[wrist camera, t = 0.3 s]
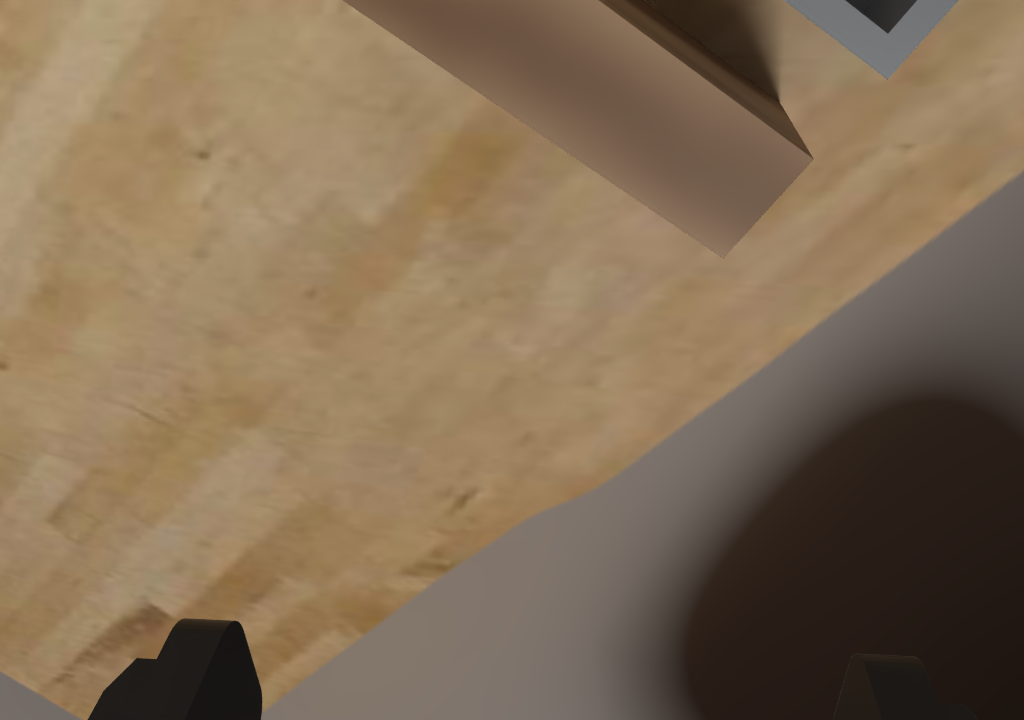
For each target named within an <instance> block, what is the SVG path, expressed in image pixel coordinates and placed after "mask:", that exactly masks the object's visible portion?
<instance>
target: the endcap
mask: <svg viewBox="0 0 1024 720" xmlns="http://www.w3.org/2000/svg"><path fill="white" fill-rule="evenodd" d="M785 1H786V2H787V3H788V4H790V5H791V6H792V7H794V8H795V9H796V10H798V11H799V12H800V13H801V14H803V15H804V16H805V17H807V18H808V19H809V20H811V21H812V22H813V23H814V24H816V25H817V26H818V27H820V28H821V29H822V30H824V31H825V32H826V33H828V34H829V35H830V36H831V37H833V38H834V39H835V40H837V41H838V42H839V43H841V44H842V45H843V46H844V47H846V48H847V49H848V50H850V51H851V52H852V53H854V54H855V55H856V56H857V57H859V58H860V59H861V60H863V61H864V62H865V63H867V64H868V65H869V66H871V67H872V68H873V69H874V70H876V71H877V72H878V73H880V74H881V75H882V76H884V77H885V78H886V79H887V80H888V78H889V77H890V76H891V75H892V74H893V73H894V72H895V71H896V69H897V68H898V67H899V66H900V65H901V64H902V63H903V62H904V61H905V59H906V58H907V57H908V56H909V55H910V54H911V53H912V52H913V50H914V49H915V48H916V47H917V46H918V45H919V44H920V43H921V42H922V40H923V39H924V38H925V37H926V36H927V35H928V34H929V33H930V31H931V30H932V29H933V28H934V27H935V26H936V25H937V24H938V23H939V21H940V20H941V19H942V18H943V17H944V16H945V15H946V14H947V12H948V11H949V10H950V9H951V8H952V7H953V6H954V5H955V4H956V2H957V1H958V0H785Z"/></svg>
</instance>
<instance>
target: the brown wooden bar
mask: <svg viewBox="0 0 1024 720" xmlns="http://www.w3.org/2000/svg"><path fill="white" fill-rule="evenodd" d="M343 1H345V2H346V3H348V4H349V5H350V6H352V7H353V8H355V9H356V10H358V11H359V12H361V13H362V14H364V15H365V16H367V17H368V18H370V19H371V20H373V21H374V22H376V23H377V24H378V25H380V26H381V27H383V28H384V29H386V30H387V31H389V32H390V33H392V34H393V35H395V36H396V37H398V38H399V39H401V40H402V41H404V42H405V43H406V44H408V45H409V46H411V47H412V48H414V49H415V50H417V51H418V52H420V53H421V54H423V55H424V56H426V57H427V58H429V59H430V60H432V61H433V62H434V63H436V64H437V65H439V66H440V67H442V68H443V69H445V70H446V71H448V72H449V73H451V74H452V75H454V76H455V77H457V78H458V79H460V80H461V81H462V82H464V83H465V84H467V85H468V86H470V87H471V88H473V89H474V90H476V91H477V92H479V93H480V94H482V95H483V96H485V97H486V98H488V99H489V100H490V101H492V102H493V103H495V104H496V105H498V106H499V107H501V108H502V109H504V110H505V111H507V112H508V113H510V114H511V115H513V116H514V117H515V118H517V119H518V120H520V121H521V122H523V123H524V124H526V125H527V126H529V127H530V128H532V129H533V130H535V131H536V132H538V133H539V134H541V135H542V136H543V137H545V138H546V139H548V140H549V141H551V142H552V143H554V144H555V145H557V146H558V147H560V148H561V149H563V150H564V151H566V152H567V153H569V154H570V155H571V156H573V157H574V158H576V159H577V160H579V161H580V162H582V163H583V164H585V165H586V166H588V167H589V168H591V169H592V170H594V171H595V172H597V173H598V174H599V175H601V176H602V177H604V178H605V179H607V180H608V181H610V182H611V183H613V184H614V185H616V186H617V187H619V188H620V189H622V190H623V191H625V192H626V193H627V194H629V195H630V196H632V197H633V198H635V199H636V200H638V201H639V202H641V203H642V204H644V205H645V206H647V207H648V208H650V209H651V210H653V211H654V212H655V213H657V214H658V215H660V216H661V217H663V218H664V219H666V220H667V221H669V222H670V223H672V224H673V225H675V226H676V227H678V228H679V229H680V230H682V231H683V232H685V233H686V234H688V235H689V236H691V237H692V238H694V239H695V240H697V241H698V242H700V243H701V244H703V245H704V246H706V247H707V248H708V249H710V250H711V251H713V252H714V253H716V254H717V255H719V256H720V257H722V258H724V257H725V256H726V255H727V254H728V253H729V252H730V251H731V249H732V248H733V247H734V246H735V245H736V244H737V243H738V242H739V241H740V240H741V239H742V237H743V236H744V235H745V234H746V233H747V232H748V231H749V230H750V229H751V228H752V226H753V225H754V224H755V223H756V222H757V221H758V220H759V219H760V218H761V217H762V215H763V214H764V213H765V212H766V211H767V210H768V209H769V208H770V207H771V206H772V204H773V203H774V202H775V201H776V200H777V199H778V198H779V197H780V196H781V195H782V194H783V192H784V191H785V190H786V189H787V188H788V187H789V186H790V185H791V184H792V183H793V181H794V180H795V179H796V178H797V177H798V176H799V175H800V174H801V173H802V172H803V170H804V169H805V168H806V167H807V166H808V165H809V164H810V163H811V162H812V161H813V157H812V156H811V154H810V152H809V151H808V149H807V147H806V146H805V144H804V142H803V141H802V139H801V137H800V136H799V134H798V132H797V131H796V129H795V127H794V126H793V124H792V122H791V121H790V119H789V117H788V115H787V114H786V112H785V110H784V109H783V107H782V105H781V104H780V103H779V102H778V101H776V100H775V99H774V98H772V97H771V96H770V95H768V94H767V93H766V92H764V91H763V90H762V89H760V88H759V87H758V86H756V85H755V84H754V83H752V82H751V81H750V80H748V79H747V78H746V77H744V76H743V75H742V74H740V73H739V72H738V71H736V70H735V69H734V68H732V67H731V66H730V65H728V64H727V63H726V62H724V61H723V60H722V59H720V58H719V57H718V56H716V55H715V54H714V53H712V52H711V51H710V50H708V49H707V48H706V47H705V46H703V45H702V44H701V43H699V42H698V41H697V40H695V39H694V38H693V37H691V36H690V35H689V34H687V33H686V32H685V31H683V30H682V29H681V28H679V27H678V26H677V25H675V24H674V23H673V22H671V21H670V20H669V19H667V18H666V17H665V16H663V15H662V14H661V13H659V12H658V11H657V10H655V9H654V8H653V7H651V6H650V5H649V4H647V3H646V2H645V1H643V0H343Z"/></svg>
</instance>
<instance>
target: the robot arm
mask: <svg viewBox="0 0 1024 720" xmlns="http://www.w3.org/2000/svg"><path fill="white" fill-rule="evenodd" d="M261 714H262V691H261V687H260V683H259V680H258V677H257V673H256V670H255V667H254V663H253V660H252V657H251V653H250V650H249V647H248V643H247V640H246V637H245V633H244V630H243V627H242V625H241V624H240V623H239V622H238V621H226V620H206V619H186V618H185V619H182V620H180V621H178V622H177V623H176V625H175V626H174V627H173V629H172V630H171V632H170V634H169V636H168V638H167V640H166V642H165V644H164V646H163V648H162V650H161V652H160V654H159V656H158V658H157V659H142V658H137V659H136V660H135V661H134V662H133V663H132V664H131V665H130V666H128V667H127V668H126V669H125V670H124V671H123V672H122V673H121V674H120V675H119V676H118V677H117V678H116V679H115V680H114V681H113V682H112V683H111V684H110V685H109V686H108V687H107V688H106V689H105V690H104V691H103V693H102V695H101V697H100V698H99V700H98V702H97V704H96V706H95V707H94V709H93V711H92V713H91V715H90V717H89V718H88V720H261ZM833 720H978V719H977V717H976V716H975V715H974V714H973V713H972V711H971V710H970V709H969V708H968V707H967V706H966V705H954V704H938V702H937V699H936V696H935V693H934V691H933V688H932V685H931V683H930V680H929V677H928V674H927V672H926V670H925V668H924V666H923V664H922V662H921V661H920V660H919V659H918V658H916V657H912V656H891V655H871V654H870V655H869V654H854V655H853V656H852V658H851V659H850V662H849V665H848V669H847V672H846V676H845V679H844V683H843V687H842V690H841V694H840V697H839V701H838V704H837V708H836V711H835V715H834V718H833Z"/></svg>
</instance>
